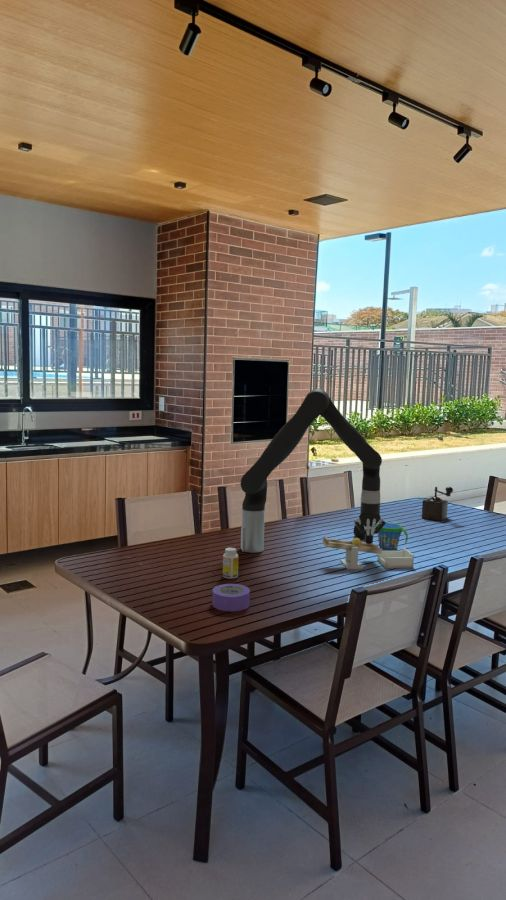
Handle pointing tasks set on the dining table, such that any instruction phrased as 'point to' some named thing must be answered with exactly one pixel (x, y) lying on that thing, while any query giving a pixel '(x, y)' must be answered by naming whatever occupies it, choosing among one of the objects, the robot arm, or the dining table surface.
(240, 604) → the tape roll
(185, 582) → the dining table surface
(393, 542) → the snack cup
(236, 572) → the supplement bottle
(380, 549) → the lever
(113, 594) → the dining table surface
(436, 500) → the brown manual coffee grinder
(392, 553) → the tray
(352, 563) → the stand
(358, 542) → the ball
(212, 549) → the dining table surface
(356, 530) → the mate gourd
